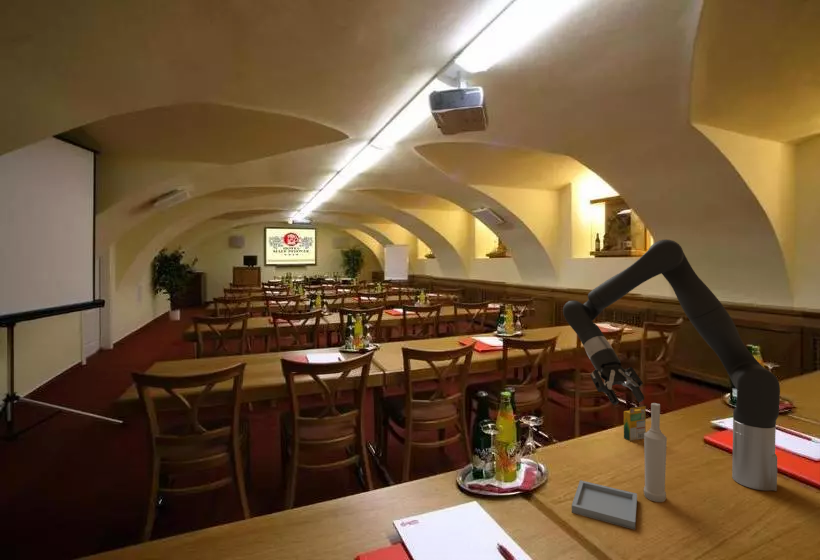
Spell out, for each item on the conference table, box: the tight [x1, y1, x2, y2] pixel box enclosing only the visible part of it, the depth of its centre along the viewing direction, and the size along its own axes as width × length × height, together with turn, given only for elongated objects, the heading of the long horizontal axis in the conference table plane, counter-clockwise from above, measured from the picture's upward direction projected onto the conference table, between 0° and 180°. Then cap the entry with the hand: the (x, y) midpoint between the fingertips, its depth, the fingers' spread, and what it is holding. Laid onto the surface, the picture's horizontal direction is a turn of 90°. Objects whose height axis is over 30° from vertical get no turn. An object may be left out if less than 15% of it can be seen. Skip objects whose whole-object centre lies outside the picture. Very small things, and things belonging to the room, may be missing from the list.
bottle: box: [643, 402, 667, 503], centre depth 110 cm, size 5×5×25 cm
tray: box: [571, 479, 638, 531], centre depth 106 cm, size 14×14×2 cm
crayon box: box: [623, 405, 647, 442], centre depth 148 cm, size 7×3×12 cm, turn 108°
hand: (629, 402), depth 118 cm, fingers open, 8 cm apart
